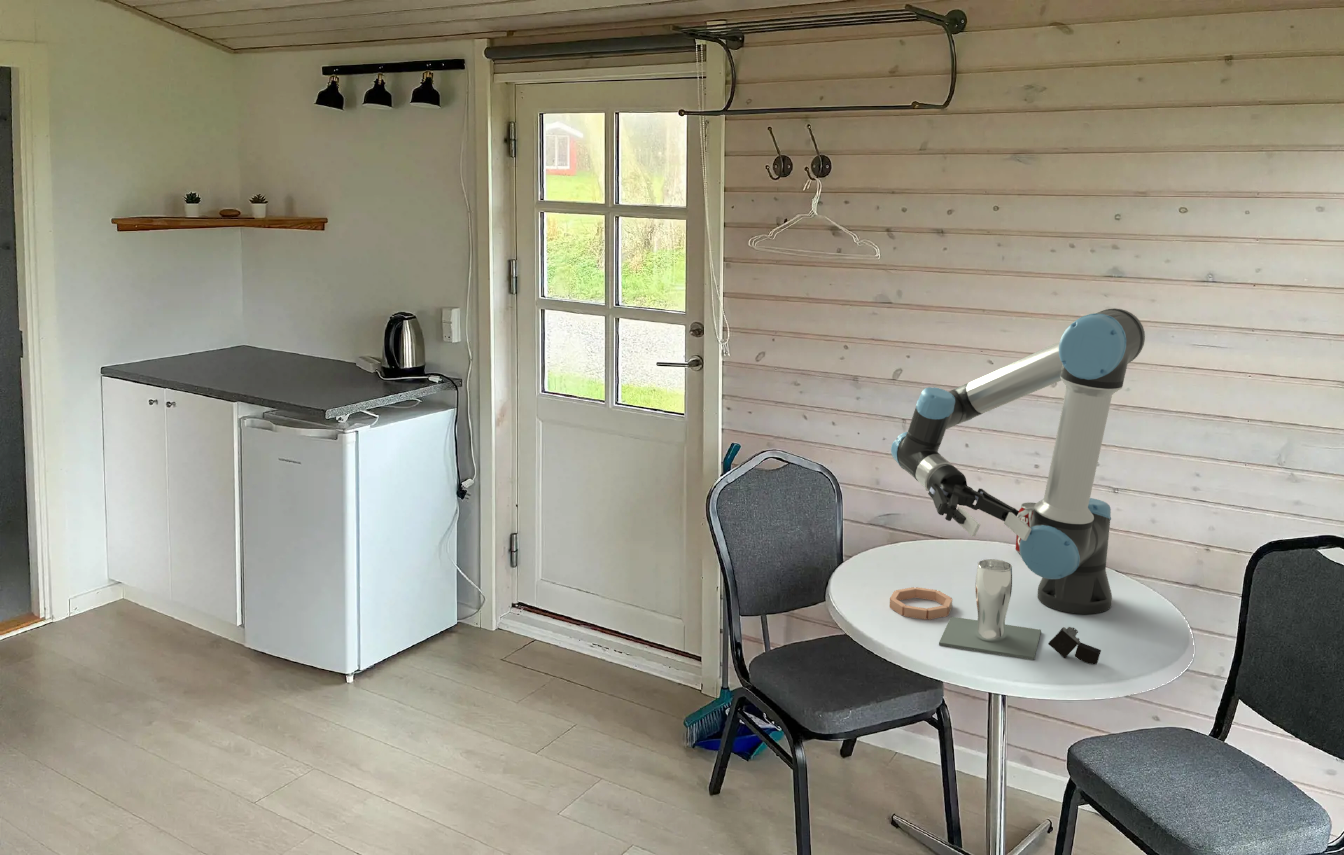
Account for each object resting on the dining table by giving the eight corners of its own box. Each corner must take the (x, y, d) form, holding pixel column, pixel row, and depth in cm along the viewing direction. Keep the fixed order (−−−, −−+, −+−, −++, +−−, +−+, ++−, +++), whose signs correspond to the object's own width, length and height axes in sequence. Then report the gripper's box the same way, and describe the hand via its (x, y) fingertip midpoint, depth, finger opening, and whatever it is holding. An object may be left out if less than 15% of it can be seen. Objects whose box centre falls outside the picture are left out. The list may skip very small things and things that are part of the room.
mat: (1040, 632, 232) (1041, 629, 232) (1033, 660, 219) (1034, 657, 219) (950, 619, 239) (950, 616, 239) (938, 645, 226) (939, 642, 226)
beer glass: (1009, 644, 225) (1014, 572, 222) (973, 641, 226) (977, 569, 223) (1007, 630, 232) (1011, 560, 228) (971, 627, 233) (975, 557, 229)
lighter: (1087, 671, 221) (1106, 652, 218) (1084, 675, 219) (1103, 656, 216) (1050, 639, 223) (1068, 620, 221) (1047, 643, 222) (1065, 624, 219)
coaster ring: (954, 601, 248) (955, 592, 248) (945, 622, 237) (945, 613, 237) (897, 593, 253) (898, 584, 252) (885, 613, 242) (885, 604, 241)
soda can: (1047, 551, 279) (1051, 504, 276) (1040, 559, 273) (1043, 511, 270) (1019, 546, 282) (1023, 500, 279) (1011, 554, 277) (1015, 507, 274)
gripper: (979, 499, 249) (1040, 552, 232) (888, 489, 238) (946, 545, 221) (993, 469, 246) (1056, 520, 229) (901, 458, 235) (961, 511, 218)
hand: (1002, 532), depth 225 cm, fingers open, 13 cm apart
